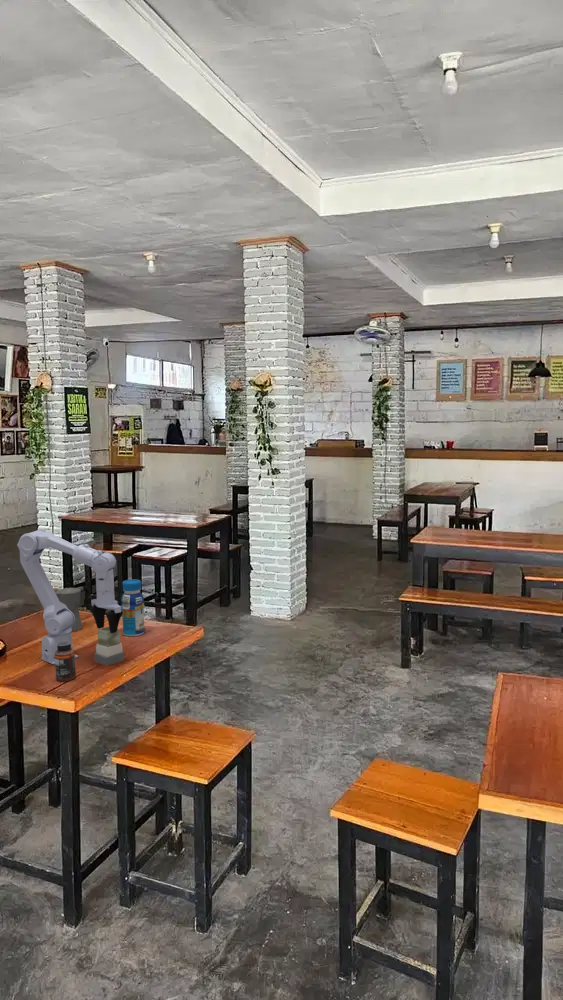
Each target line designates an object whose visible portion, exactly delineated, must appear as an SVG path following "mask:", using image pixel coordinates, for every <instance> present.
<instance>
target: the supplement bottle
mask: <svg viewBox="0 0 563 1000" xmlns="http://www.w3.org/2000/svg"><path fill="white" fill-rule="evenodd" d="M57 648H58V649H57V650H56V651H55V664H54V666H55V668H54V669H55V679H56V680H57V681H58V682H68V681H72V680H74V679H75V678H76V677H77V674H76V671H77V670H76V660H75V659H76V658H75V655H76V653H75V650H74V649H72V648H71V643H70V642H60V643H58V644H57Z"/></svg>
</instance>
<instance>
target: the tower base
mask: <svg viewBox="0 0 563 1000" xmlns="http://www.w3.org/2000/svg"><path fill="white" fill-rule="evenodd" d="M93 655H94V658H93V659H94V660H93V661H94V662H95V663H98V664H100V665H103V666H105V667H108V666H111V665H115V664H117V662H118V663H120V662H121V663H122V662H123V661H125V652H123V651H122V652H121V653H118V654H115V655H112V656H109V657H106V656H103V655H100V654H98V653H96V652H94V653H93Z"/></svg>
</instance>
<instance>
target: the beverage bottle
mask: <svg viewBox="0 0 563 1000" xmlns="http://www.w3.org/2000/svg"><path fill="white" fill-rule="evenodd" d="M122 590H123V593H122V596H121V599H120V600H121V605H120V606H121V611H123V614H122V616H121V617H122V618H121V620H122V635H124V636H125V637H138V636H141V635H143V634H144V633H146V632H145V631H146V628H145V603H144V600H145V599H144V595H143V594H142V592H141V590H142V581H141V580H139V579H126V580H123V581H122Z"/></svg>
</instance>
